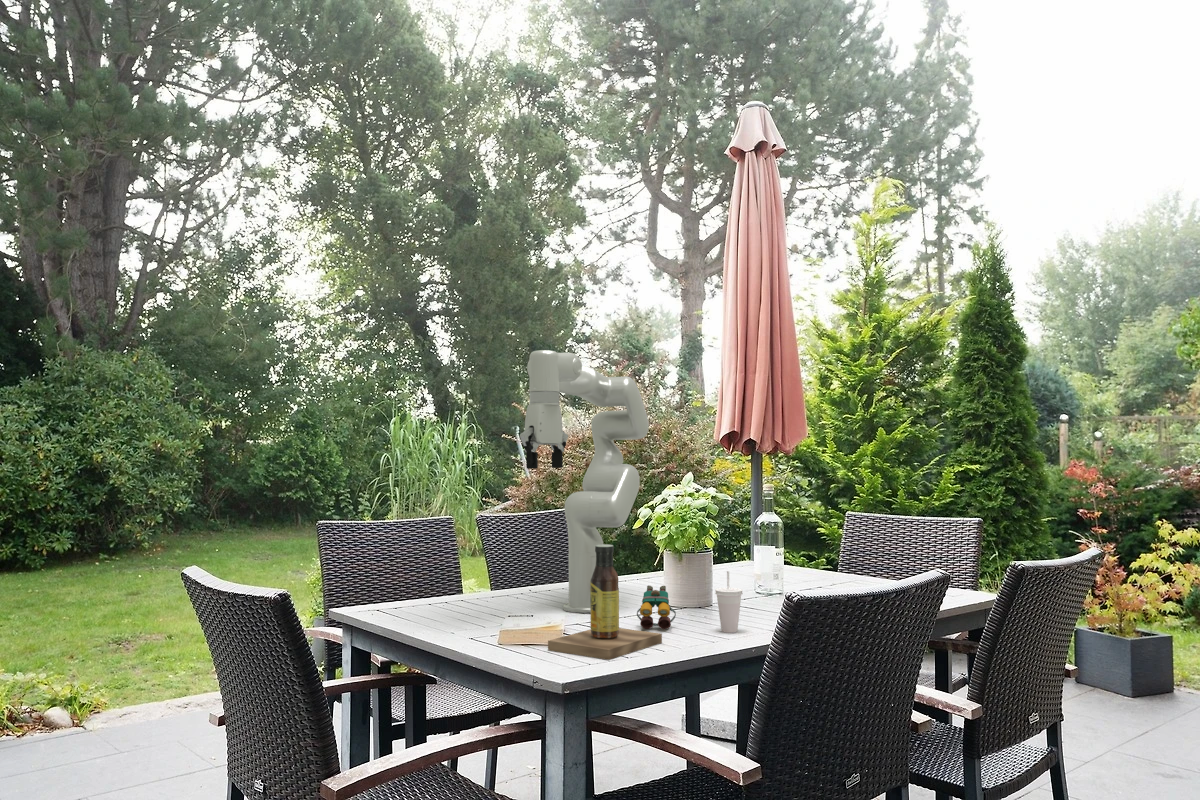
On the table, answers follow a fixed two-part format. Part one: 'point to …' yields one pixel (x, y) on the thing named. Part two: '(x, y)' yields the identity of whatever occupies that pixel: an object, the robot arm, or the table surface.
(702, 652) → the table surface
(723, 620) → the smoothie
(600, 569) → the sauce bottle
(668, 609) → the binoculars
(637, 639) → the walnut board
